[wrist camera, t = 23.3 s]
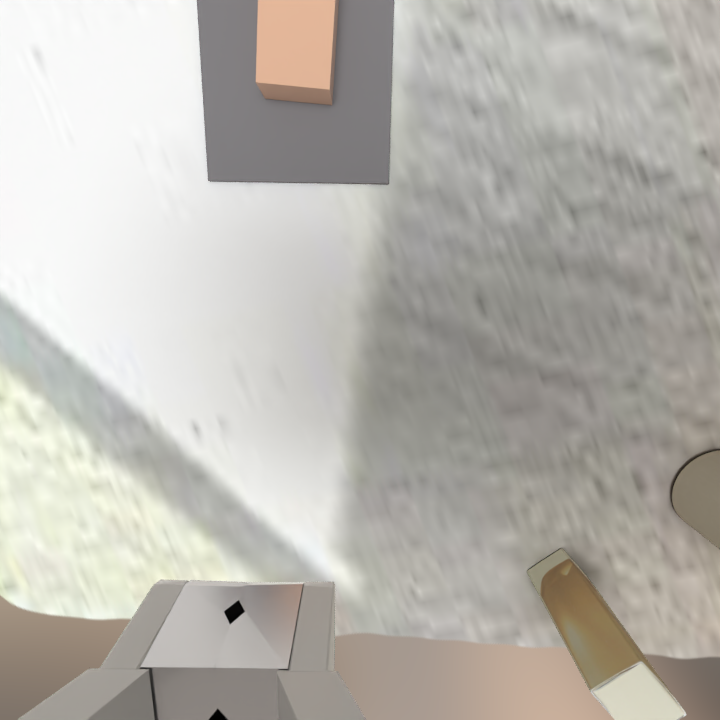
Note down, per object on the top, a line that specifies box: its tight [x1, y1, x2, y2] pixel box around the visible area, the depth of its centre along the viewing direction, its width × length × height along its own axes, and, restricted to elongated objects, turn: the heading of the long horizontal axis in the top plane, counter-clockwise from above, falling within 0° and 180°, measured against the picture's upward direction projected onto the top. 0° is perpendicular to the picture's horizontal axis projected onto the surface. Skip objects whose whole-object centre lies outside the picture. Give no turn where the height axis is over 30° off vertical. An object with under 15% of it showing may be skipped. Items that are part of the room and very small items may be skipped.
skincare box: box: [527, 548, 686, 720], centre depth 35 cm, size 6×4×12 cm
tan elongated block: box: [256, 0, 339, 105], centre depth 29 cm, size 5×3×11 cm
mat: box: [197, 0, 394, 184], centre depth 30 cm, size 14×20×1 cm
